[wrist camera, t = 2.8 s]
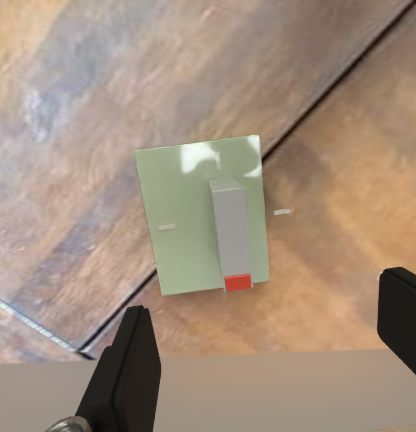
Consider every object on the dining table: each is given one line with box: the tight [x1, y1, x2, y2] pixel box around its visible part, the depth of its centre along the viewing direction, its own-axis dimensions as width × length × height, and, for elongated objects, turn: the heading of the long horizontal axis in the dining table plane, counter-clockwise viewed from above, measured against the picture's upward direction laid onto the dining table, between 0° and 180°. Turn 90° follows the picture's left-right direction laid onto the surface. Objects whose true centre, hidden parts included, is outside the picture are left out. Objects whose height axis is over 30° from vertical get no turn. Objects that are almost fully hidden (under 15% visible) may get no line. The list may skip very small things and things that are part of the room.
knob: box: [208, 177, 253, 292], centre depth 19 cm, size 7×2×6 cm, turn 7°
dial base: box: [133, 134, 290, 296], centre depth 23 cm, size 13×12×3 cm
